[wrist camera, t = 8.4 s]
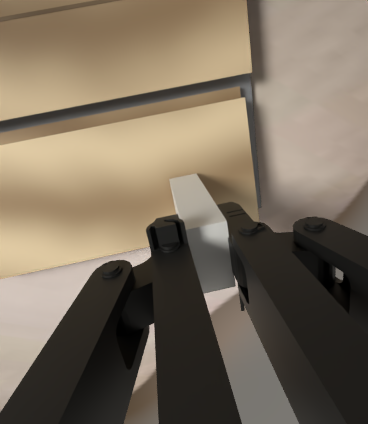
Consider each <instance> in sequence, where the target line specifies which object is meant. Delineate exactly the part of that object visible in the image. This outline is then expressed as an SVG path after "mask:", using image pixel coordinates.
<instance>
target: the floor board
mask: <svg viewBox="0 0 368 424" xmlns="http://www.w3.org/2000/svg"><path fill="white" fill-rule="evenodd" d="M247 73H252V63H251V50H250V38H249V25H248V12H247V0H0V121H3V120H8V119H13V118H18V117H24V116H29V115H34V114H39V113H44V112H50V111H55V110H60V109H65V108H70V107H75V106H81V105H86V104H91V103H96V102H101V101H107V100H112V99H117V98H122V97H127V96H132V95H138V94H143V93H148V92H153V91H158V90H164V89H169V88H174V87H179V86H184V85H190V84H195V83H200V82H205V81H210V80H215V79H221V78H226V77H231V76H236V75H241V74H247Z"/></svg>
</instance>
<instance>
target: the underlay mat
mask: <svg viewBox="0 0 368 424" xmlns="http://www.w3.org/2000/svg"><path fill="white" fill-rule="evenodd" d="M239 86H240V94H241V98H244V97H245V101H246V110H247V118H248V127H249V136H250V144H251V153H252V162H253V170H254V179H255V188H256V196H257V205H258V208H261V198H260V186H259V174H258V161H257V149H256V137H255V125H254V112H253V100H252V88H251V76H250V73H247V74H241V75H236V76H231V77H226V78H221V79H215V80H210V81H205V82H200V83H195V84H190V85H184V86H179V87H174V88H169V89H164V90H158V91H153V92H148V93H143V94H138V95H132V96H127V97H122V98H117V99H112V100H107V101H101V102H96V103H91V104H86V105H81V106H75V107H70V108H65V109H60V110H55V111H50V112H44V113H39V114H34V115H29V116H24V117H18V118H13V119H8V120H3V121H0V133H2V132H8V131H13V130H18V129H23V128H28V127H33V126H38V125H44V124H49V123H54V122H59V121H64V120H69V119H74V118H80V117H85V116H90V115H95V114H100V113H105V112H110V111H115V110H121V109H126V108H131V107H136V106H141V105H146V104H151V103H157V102H162V101H167V100H172V99H177V98H182V97H187V96H192V95H198V94H203V93H208V92H213V91H218V90H223V89H228V88H234V87H239Z"/></svg>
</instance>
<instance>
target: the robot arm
mask: <svg viewBox="0 0 368 424" xmlns="http://www.w3.org/2000/svg"><path fill="white" fill-rule="evenodd" d="M169 181H170V186H171V190H172V195H173V200H174V205H175V210H176V214H174V215H170V216H165V217H160V218H156V220H155V221H154V222H153V223H151V224H150V225H149V226H148V227H147V228H146V233H147V237H148V241H149V245H150V249H151V257H150V258H149V259H148V260H147V261H145V262H144V263H142V264H140V265H137V266H135V267H132V265H131V264H130V262H128V261H125V260H116V261H110V262H108V263H105V264H103V265H102V266H100V267H99V268H97V269H96V270H95V271H94V272H93V273H92V275H91V276H90V278H89V279H88V281H87V282H86V284H85V285H84V287H83V288H82V290H81V291H80V293H79V294H78V296H77V297H76V299H75V300H74V302H73V304H72V305H71V307H70V308H69V310H68V311H67V313H66V314H65V316H64V317H63V319H62V320H61V322H60V323H59V325H58V326H57V328H56V329H55V331H54V332H53V334H52V335H51V337H50V338H49V340H48V341H47V343H46V344H45V346H44V347H43V349H42V350H41V352H40V353H39V355H38V356H37V358H36V360H35V361H34V363H33V364H32V366H31V367H30V369H29V370H28V372H27V373H26V375H25V376H24V378H23V379H22V381H21V382H20V384H19V385H18V387H17V388H16V390H15V391H14V393H13V394H12V396H11V397H10V399H9V400H8V402H7V403H6V405H5V406H4V408H3V409H2V411H1V412H0V424H123V423H124V420H125V416H126V412H127V409H128V406H129V402H130V398H131V395H132V392H133V388H134V385H135V381H136V377H137V374H138V370H139V367H140V363H141V360H142V356H143V353H144V349H145V346H146V342H147V339H148V335H149V325H151V324H153V323H154V327H155V349H156V371H157V393H158V414H159V424H242V423H241V419H240V416H239V412H238V409H237V406H236V402H235V399H234V395H233V392H232V389H231V385H230V382H229V379H228V375H227V372H226V368H225V365H224V362H223V358H222V355H221V352H220V348H219V345H218V341H217V338H216V335H215V331H214V328H213V325H212V321H211V318H210V315H209V311H208V308H207V304H206V301H205V298H204V294H203V293H208V292H212V291H217V290H221V289H226V288H230V287H235V278H236V280H237V282H238V289H239V296H240V304H241V311H244V306H245V308H246V310H247V312H248V314H249V316H250V318H251V321H252V323H253V325H254V327H255V329H256V331H257V334H258V336H259V338H260V340H261V342H262V344H263V346H264V349H265V351H266V353H267V355H268V357H269V359H270V362H271V364H272V366H273V368H274V370H275V372H276V375H277V377H278V379H279V381H280V383H281V385H282V387H283V390H284V392H285V394H286V396H287V398H288V400H289V403H290V405H291V407H292V409H293V411H294V413H295V415H296V417H297V420H298V422H299V424H368V236H366V235H364V234H361V233H359V232H357V231H355V230H352V229H350V228H347V227H345V226H343V225H340V224H338V223H336V222H333V221H331V220H328V219H325V218H317V217H307V218H304V219H300V220H298V221H296V222H295V223H294V225H293V232H285V233H274V232H273V231H272V230H271V229H270V228H269V227H268V226H267V225H266V224H264V223H261V222H254V221H253V220H252V219H251V218H250V216H249V215H248V214H246V212H245V210H243V208H242V207H241V206H240V205H239V204H237V203H234V202H227V203H222V204H218V205H216V203H215V202H214V200H213V199H212V197H211V196H210V194H209V193H208V191H207V189H206V188H205V186H204V185H203V183H202V182H201V180H200V178H199V177H198V175H197V174H191V175H186V176H181V177H176V178H172V179H169ZM335 267H336V268H338V269H339V270H341V271H342V272H343V273H344V274H343V281H342V280H340V279H338V278H336V277H335ZM234 276H235V278H234Z"/></svg>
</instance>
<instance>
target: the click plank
mask: <svg viewBox="0 0 368 424" xmlns="http://www.w3.org/2000/svg"><path fill="white" fill-rule="evenodd" d="M191 174H197V175H198V177H199V178H200V180H201V182H202V183H203V185H204V186H205V188H206V189H207V191H208V193H209V194H210V196H211V197H212V199H213V200H214V202H215V203H216V205H218V204H222V203H227V202H234V203H237V204H239V205H240V206H241V207H242V208H243V210H245V212H246V214H248V215H249V216H250V218H251V219H252V220H253V221H254V222H259V213H258V205H257V196H256V188H255V179H254V170H253V162H252V153H251V144H250V136H249V127H248V118H247V110H246V101H245V97H244V98H241V94H240V86H239V87H234V88H228V89H223V90H218V91H213V92H208V93H203V94H198V95H192V96H187V97H182V98H177V99H172V100H167V101H162V102H157V103H151V104H146V105H141V106H136V107H131V108H126V109H121V110H115V111H110V112H105V113H100V114H95V115H90V116H85V117H80V118H74V119H69V120H64V121H59V122H54V123H49V124H44V125H38V126H33V127H28V128H23V129H18V130H13V131H8V132H2V133H0V279H3V278H8V277H12V276H17V275H21V274H26V273H31V272H35V271H40V270H44V269H49V268H54V267H58V266H63V265H67V264H72V263H77V262H81V261H86V260H90V259H95V258H100V257H104V256H109V255H113V254H118V253H123V252H127V251H132V250H136V249H141V248H146V247H150V245H149V241H148V237H147V233H146V228H147V227H148V226H149V225H150V224H151V223H153V222H154V221H155V220H156V218H160V217H165V216H170V215H174V214H176V210H175V205H174V200H173V195H172V190H171V186H170V181H169V179H172V178H176V177H181V176H186V175H191Z"/></svg>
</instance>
